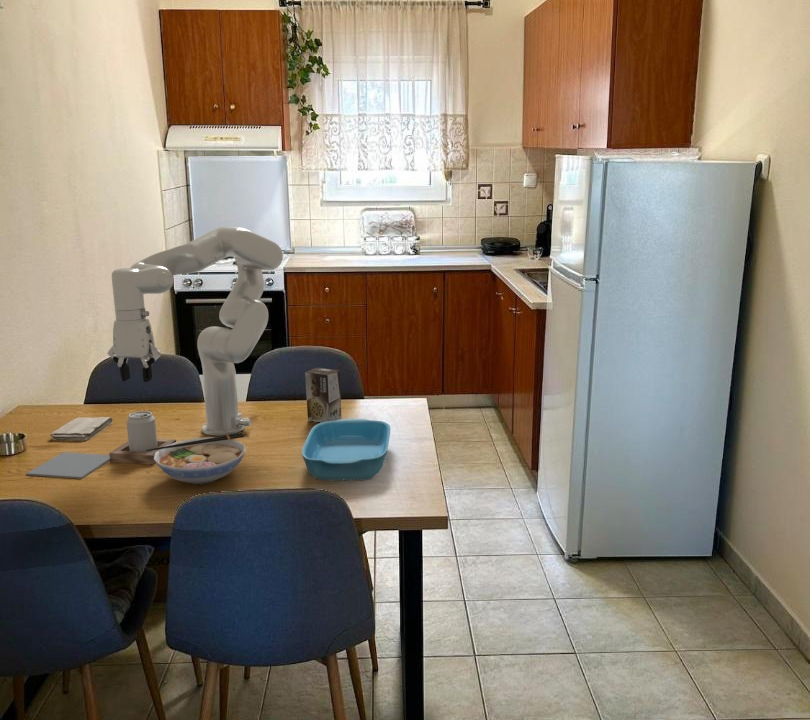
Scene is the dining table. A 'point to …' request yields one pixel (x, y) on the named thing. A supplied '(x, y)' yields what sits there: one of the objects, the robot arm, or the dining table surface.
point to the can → (141, 431)
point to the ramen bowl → (200, 458)
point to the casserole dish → (346, 449)
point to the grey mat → (70, 465)
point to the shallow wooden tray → (137, 453)
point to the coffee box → (323, 395)
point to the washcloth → (81, 428)
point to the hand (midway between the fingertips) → (136, 379)
